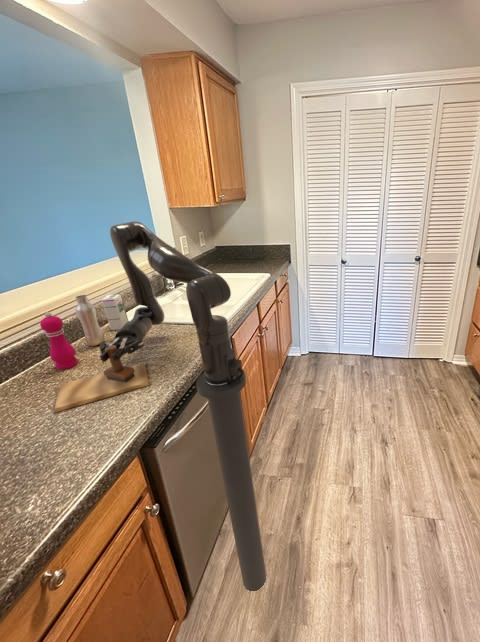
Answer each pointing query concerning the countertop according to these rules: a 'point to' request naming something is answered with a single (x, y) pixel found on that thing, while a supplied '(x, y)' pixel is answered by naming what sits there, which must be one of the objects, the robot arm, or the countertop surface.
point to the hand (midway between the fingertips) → (108, 358)
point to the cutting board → (97, 388)
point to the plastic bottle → (89, 321)
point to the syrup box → (115, 311)
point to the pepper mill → (58, 342)
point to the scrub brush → (117, 368)
